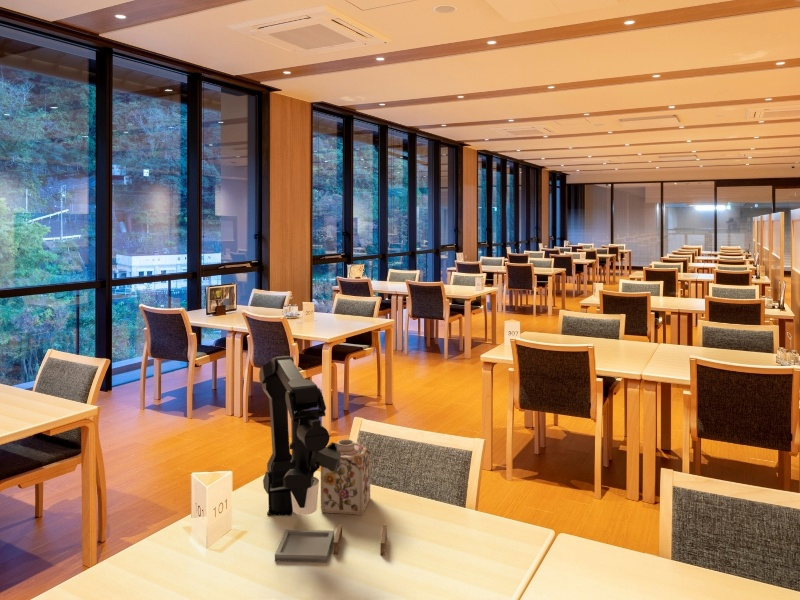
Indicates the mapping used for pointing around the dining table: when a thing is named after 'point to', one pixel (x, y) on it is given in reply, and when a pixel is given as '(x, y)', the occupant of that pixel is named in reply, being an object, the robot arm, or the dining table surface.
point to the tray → (305, 546)
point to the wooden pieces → (339, 536)
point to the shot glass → (307, 500)
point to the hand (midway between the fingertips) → (304, 501)
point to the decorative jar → (347, 481)
